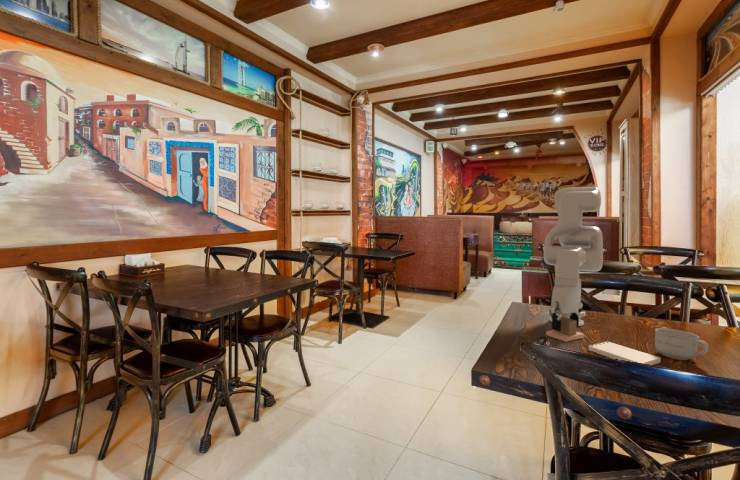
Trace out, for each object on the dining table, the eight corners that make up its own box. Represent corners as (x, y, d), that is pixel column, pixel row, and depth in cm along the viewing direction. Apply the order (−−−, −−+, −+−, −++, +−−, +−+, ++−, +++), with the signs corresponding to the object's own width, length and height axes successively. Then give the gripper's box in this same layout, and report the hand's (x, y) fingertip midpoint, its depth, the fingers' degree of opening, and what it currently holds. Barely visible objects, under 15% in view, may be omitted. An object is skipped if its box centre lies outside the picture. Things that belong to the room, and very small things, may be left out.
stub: (564, 331, 140) (564, 315, 140) (584, 337, 133) (584, 320, 133) (546, 335, 136) (546, 318, 136) (565, 341, 129) (566, 324, 128)
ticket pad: (607, 345, 126) (607, 340, 126) (660, 362, 111) (660, 357, 111) (588, 350, 121) (588, 345, 121) (641, 368, 107) (641, 363, 107)
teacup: (645, 351, 121) (646, 327, 120) (675, 349, 122) (676, 326, 121) (685, 368, 107) (686, 342, 106) (718, 367, 108) (720, 341, 107)
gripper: (572, 278, 140) (571, 322, 141) (541, 282, 133) (540, 328, 134) (592, 282, 134) (590, 327, 135) (560, 286, 126) (558, 334, 127)
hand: (565, 328), depth 134 cm, fingers open, 9 cm apart
